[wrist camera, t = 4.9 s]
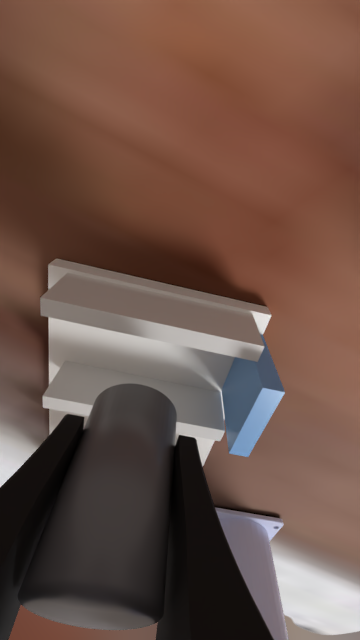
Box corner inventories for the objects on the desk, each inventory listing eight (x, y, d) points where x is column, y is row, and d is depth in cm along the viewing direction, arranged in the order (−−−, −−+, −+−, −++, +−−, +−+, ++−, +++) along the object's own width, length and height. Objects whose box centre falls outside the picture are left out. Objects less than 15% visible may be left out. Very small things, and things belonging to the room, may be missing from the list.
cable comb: (188, 487, 26) (186, 563, 21) (54, 464, 25) (21, 537, 20) (267, 306, 16) (298, 369, 11) (56, 258, 15) (-7, 304, 10)
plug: (167, 447, 13) (149, 636, 8) (90, 432, 13) (21, 619, 8) (185, 393, 11) (178, 593, 6) (96, 375, 11) (11, 569, 6)
